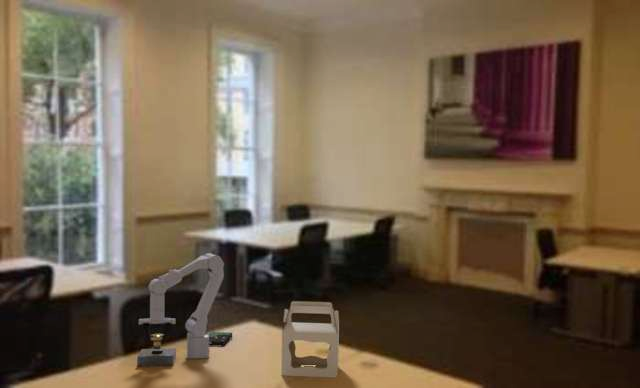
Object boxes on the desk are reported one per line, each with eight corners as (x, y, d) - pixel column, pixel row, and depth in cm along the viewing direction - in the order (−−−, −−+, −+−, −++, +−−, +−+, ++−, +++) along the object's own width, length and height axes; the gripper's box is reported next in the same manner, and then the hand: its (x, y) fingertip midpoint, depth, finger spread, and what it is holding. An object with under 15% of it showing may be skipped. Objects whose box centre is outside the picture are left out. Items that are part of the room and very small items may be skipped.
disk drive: (224, 347, 268) (232, 338, 283) (224, 341, 268) (232, 332, 283) (202, 346, 269) (211, 336, 284) (202, 340, 269) (211, 331, 284)
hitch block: (175, 357, 250) (175, 348, 250) (172, 365, 240) (172, 355, 240) (141, 358, 249) (141, 349, 248) (137, 366, 239) (137, 356, 239)
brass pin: (164, 346, 247) (165, 333, 247) (163, 350, 242) (163, 337, 242) (151, 346, 247) (151, 333, 246) (149, 350, 241) (149, 337, 241)
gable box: (280, 375, 231) (281, 304, 230) (284, 364, 244) (285, 297, 243) (337, 378, 229) (338, 306, 228) (338, 366, 243) (340, 299, 241)
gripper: (137, 311, 239) (137, 344, 239) (174, 310, 241) (173, 343, 241) (140, 307, 246) (140, 339, 246) (176, 306, 248) (176, 338, 248)
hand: (157, 341), depth 244 cm, fingers closed on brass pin, 6 cm apart
